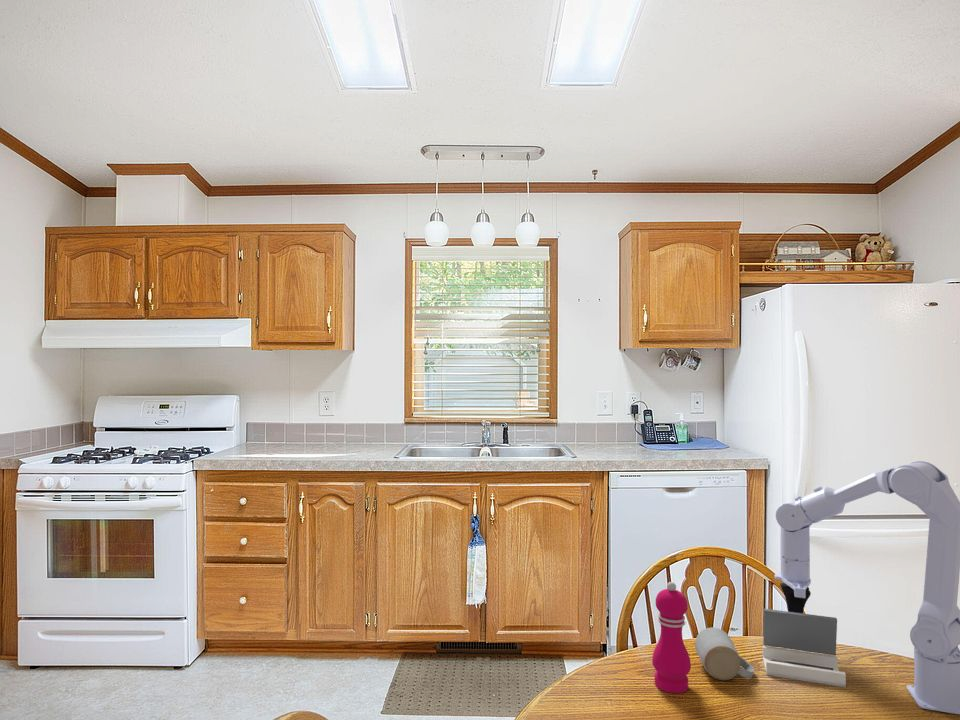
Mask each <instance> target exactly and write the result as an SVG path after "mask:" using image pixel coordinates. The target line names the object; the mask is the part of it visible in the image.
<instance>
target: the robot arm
mask: <svg viewBox="0 0 960 720" xmlns="http://www.w3.org/2000/svg"><path fill="white" fill-rule="evenodd" d="M879 492H880V493H884V494H887V495H891V494H894V493H895V494H896V495H897V496H899V497H900V498H902V499H904V500H906V501H908V502H909V503H911V504H913V505H915V506H917V508H919V509H920V510H921V511H922V512H923V513H924V514H925V515H926V517H928V519H929V522H928V524H929V525H928V535H927V547H926V548H927V549H926V560H925V571H924V572H925V573H924V585H923V597H922V598H923V599H922V603H921V605H920V607H919V610H918V613H917V619H916V622H915V624H914V625H913V626H912V627H911V629H910V632H909V637H910V641H911V643H912V645H913V649H914V650H913V661H914V662H913V663H914V665H913V667H914V669H913V670H914V671H913V673H914V675H913V678H914V681H913V683H914V685H910V684H907V685H906V689H907V690H908V692H909V693H911V694H910V695H911V697H912V698H913V699H914V701H915V703H916V704H917V706H918V707H919V708H920V709H925V710H929V711H937V712H942V713H948V714H953V715H954V714H955V715H960V648H959V645H960V608H959V606H958V598H959V597H958V595H959V594H958V593H959V584H960V500H959V498H958V496H957V494H956V493H955V491H954V489H953V488H952V486H951V484H950V481H949V477H948V475H947V474H945V473H944V472H943V471H942V470H940V469H939V468H938V467H937V466H936V465H935V464H933V463H931V462H929V461H923V460H921V461H920V460H919V461H914V462H911V463H909V464H903V465H899V466H896V467H891V468H887V469H884V470H883V469H882V470H879V471H875V472H873V473H870V474H869V475H866V476H864V477H862V478H860V479H857V480H855V481H853V482H852V483H851V482H850V483H849V484H847V485H844V486H843V487H840V488H838V489H834V488H832V487H822V486H819V487H816V488H813V492H812V493H809V494H807V495H804V496H797V497H795V498H794V500H795V501H792V502H786V503H783V504H782V505H781V506H779V507H778V508H777V509H776V511H775V519H776V522H777V524H778V526H780V536H779V537H780V539H779V540H780V544H779V545H780V573H774V579H775V580H776V581H777V580H778V581H781V582H782V583H779V585H780V588H781V591H782V593H783V595H784V599H785V602H786V603H785V604H786V608H787V612H795V613H802V614H804V609H805V606H806V604H807V601H808V599H809V598H810V596H811V594H812V593H811V591H810V588H809V586H810V585H811V584H812V579H811V578H810V577H811V573H810V571H811V567H810V566H811V565H810V564H811V563H810V562H811V560H810V559H811V558H810V557H811V555H810V554H811V552H810V551H811V550H810V545H811V541H810V540H811V539H810V528H811V526H812V525H813V524H817V523H820V522H822V521H824V520H828V519H829V518H832V517H834V516H836V515H840V514H842V513H843V512H844V509H845V506H846V504H848V503H851V502H853V501H857V500H859V499H862V498H864V497H867V496H871V495H873V494H876V493H879Z"/></svg>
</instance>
